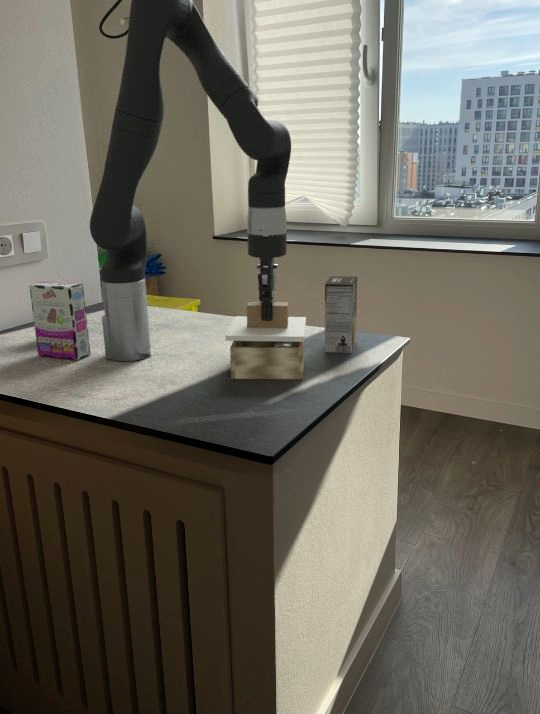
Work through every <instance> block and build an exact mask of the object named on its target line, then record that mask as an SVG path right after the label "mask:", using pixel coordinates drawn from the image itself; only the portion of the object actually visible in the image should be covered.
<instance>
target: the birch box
mask: <svg viewBox="0 0 540 714" xmlns="http://www.w3.org/2000/svg"><path fill="white" fill-rule="evenodd" d="M279 342H287V341H232V343H231V346H230V348H229V352H230V353H229V354H230V355H229V356H230V357H229V358H230V375H231V378H230V379H232V380H304V373H305V372H304V368H305V341H304V342H291V343H294V347H275V344H276V343H279Z"/></svg>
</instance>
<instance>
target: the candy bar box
mask: <svg viewBox="0 0 540 714" xmlns="http://www.w3.org/2000/svg"><path fill="white" fill-rule="evenodd" d="M28 287H29V294H30V301H31V308H32V317H33V324H34V325H33V326H34V330H35V332H34V333H35V338H36V339H35V340H36V345H37V346H36V347H37V353H38V357H42V358H43V357H45V358H52V359H61V360H71V361H79V360H82V359H84V358H86V357H89V356H90V355H91V346H90V345H91V344H90V338H89V328H88V326H89V325H88V319H87V310H86V309H87V308H86V301H85V300H86V299H85V292H84V291H85V289H84V283H78V282H77V283H75V282H58V281H57V282H56V281H40V282H36V283H32V284H29V285H28Z"/></svg>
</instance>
